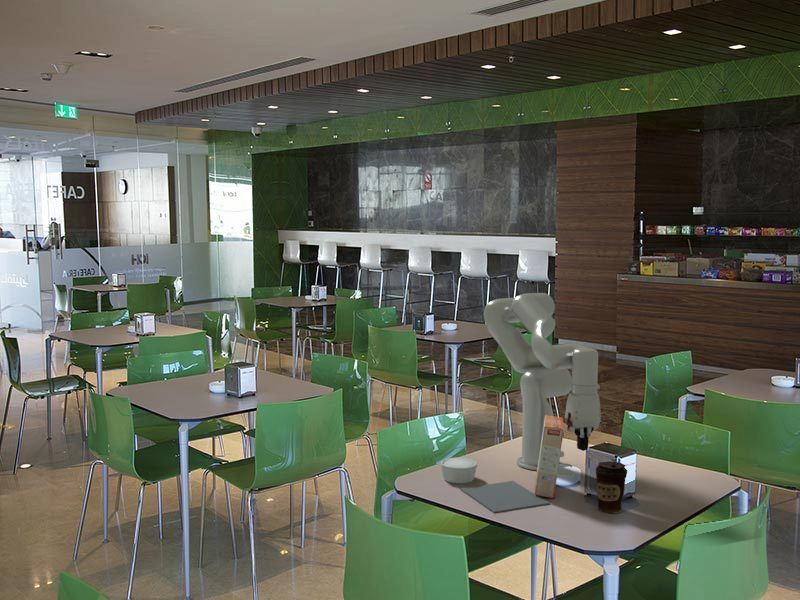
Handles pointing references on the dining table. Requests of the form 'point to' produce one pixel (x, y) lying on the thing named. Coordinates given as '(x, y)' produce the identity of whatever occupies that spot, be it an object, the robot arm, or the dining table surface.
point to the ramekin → (458, 470)
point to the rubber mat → (504, 496)
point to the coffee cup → (610, 486)
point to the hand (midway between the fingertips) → (582, 449)
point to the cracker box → (549, 456)
